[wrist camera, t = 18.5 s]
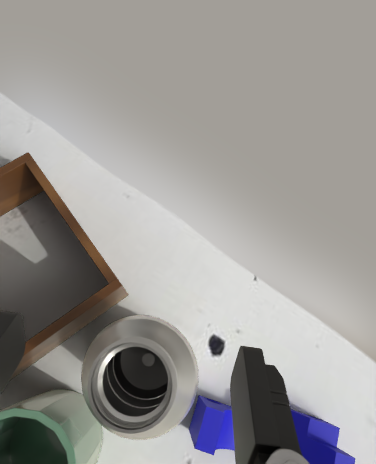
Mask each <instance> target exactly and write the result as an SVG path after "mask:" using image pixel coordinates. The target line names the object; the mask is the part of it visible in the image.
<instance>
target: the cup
mask: <svg viewBox="0 0 376 464" xmlns="http://www.w3.org/2000/svg"><path fill="white" fill-rule="evenodd" d="M102 440H103V430H102V425H101V424H100V423H99V422H98V421H97V420H96V418H95V417H94V416H93V415H92V413H91V411H90V409H89V408H88V406H87V404H86V401H85V398H84V396H83V395H81V394H79V393H77V392H75V391H71V390H66V389H55V390H51V391H47V392H44V393H41V394H38V395H35V396H33V397H30V398H28V399H26V400H23V401H21V402H18V403H16V404H14V405H11V406H9V407H6V408H4V409H2V410H0V464H96V462H97V461H98V458H99V454H100V451H101V447H102Z"/></svg>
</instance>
